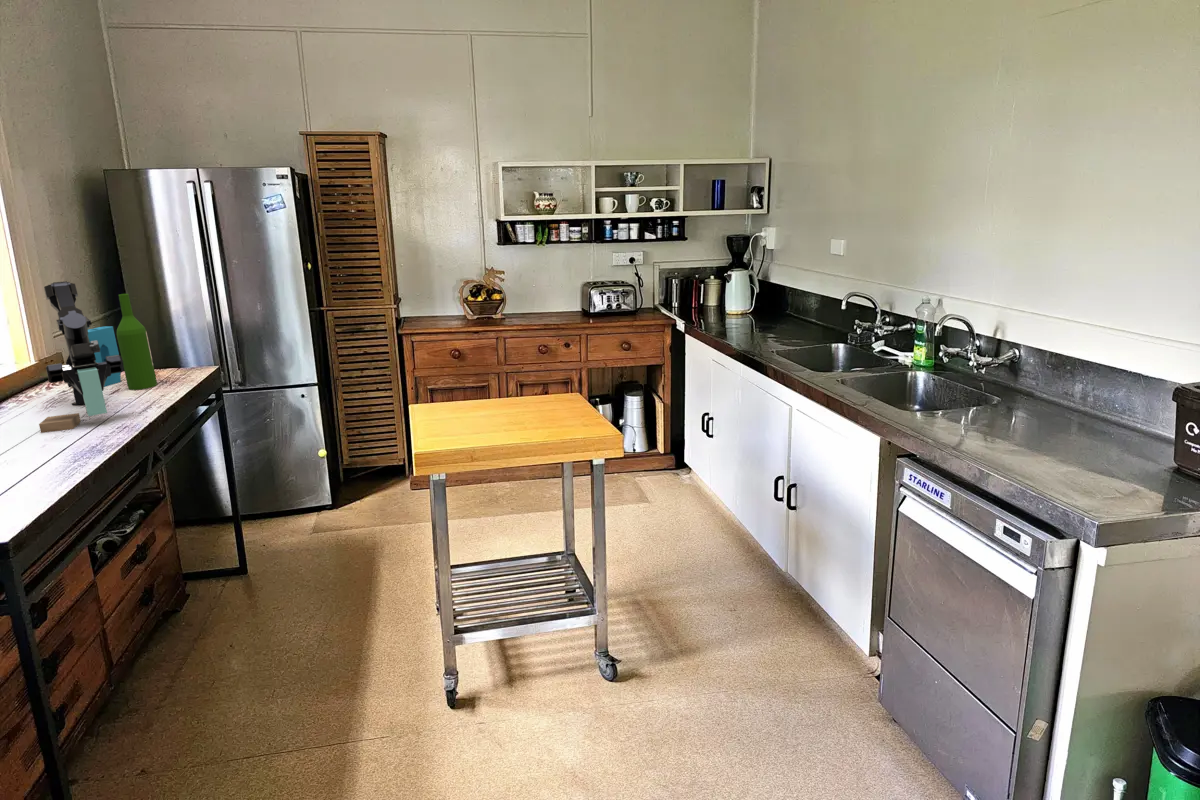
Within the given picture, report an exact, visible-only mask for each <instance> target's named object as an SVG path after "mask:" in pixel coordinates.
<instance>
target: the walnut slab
mask: <svg viewBox="0 0 1200 800" xmlns="http://www.w3.org/2000/svg"><path fill="white" fill-rule="evenodd" d="M81 420H82V419H81V415H80V413H79V412H78V413H69V414H68V413H67V414H60V415H53V416H47V417H46V418H44V419H43V420H42V421H41V422H40V423H38V427H39V430H40V433H42V434H44V433H51V432H59V431H60V432H61V431H67V430H74V429H75V428H77V426H78V425H79V424H80V423H81V422H82V421H81Z"/></svg>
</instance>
